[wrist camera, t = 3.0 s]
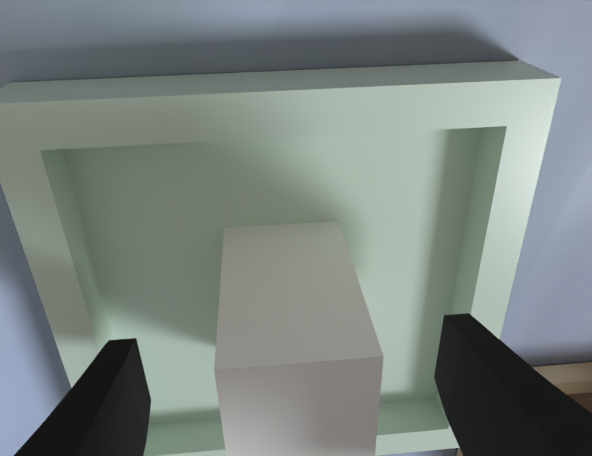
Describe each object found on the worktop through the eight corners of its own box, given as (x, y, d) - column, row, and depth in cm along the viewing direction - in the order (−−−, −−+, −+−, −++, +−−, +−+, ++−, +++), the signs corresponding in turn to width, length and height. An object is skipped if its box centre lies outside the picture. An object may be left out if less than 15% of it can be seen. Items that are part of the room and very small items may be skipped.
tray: (116, 433, 17) (103, 481, 16) (9, 82, 11) (-28, 105, 10) (454, 403, 18) (473, 446, 17) (521, 60, 12) (561, 77, 11)
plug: (237, 353, 15) (234, 516, 11) (224, 228, 13) (213, 369, 9) (335, 345, 15) (370, 503, 11) (338, 220, 13) (383, 356, 9)
